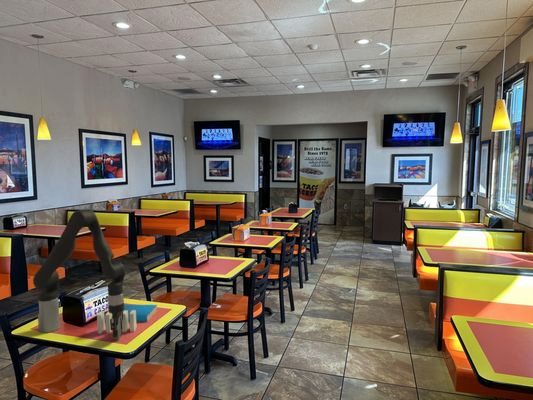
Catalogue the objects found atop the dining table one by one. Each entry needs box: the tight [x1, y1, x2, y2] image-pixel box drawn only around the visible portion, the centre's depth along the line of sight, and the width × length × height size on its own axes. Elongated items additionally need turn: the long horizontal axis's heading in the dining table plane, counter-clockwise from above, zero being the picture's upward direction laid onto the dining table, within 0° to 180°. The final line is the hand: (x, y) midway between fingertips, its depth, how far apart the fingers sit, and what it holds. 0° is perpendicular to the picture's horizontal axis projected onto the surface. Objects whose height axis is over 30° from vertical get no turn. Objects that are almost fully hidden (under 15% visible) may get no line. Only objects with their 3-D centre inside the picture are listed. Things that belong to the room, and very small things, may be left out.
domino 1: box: [96, 311, 106, 334], centre depth 200 cm, size 2×5×10 cm, turn 5°
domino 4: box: [121, 310, 130, 333], centre depth 201 cm, size 2×5×10 cm, turn 6°
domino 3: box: [113, 320, 122, 342], centre depth 191 cm, size 2×5×10 cm, turn 5°
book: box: [112, 304, 158, 322], centre depth 221 cm, size 17×4×25 cm
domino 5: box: [129, 310, 137, 333], centre depth 202 cm, size 2×5×10 cm, turn 6°
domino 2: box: [104, 310, 113, 334], centre depth 200 cm, size 2×5×10 cm, turn 6°
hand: (117, 333), depth 191 cm, fingers open, 7 cm apart
